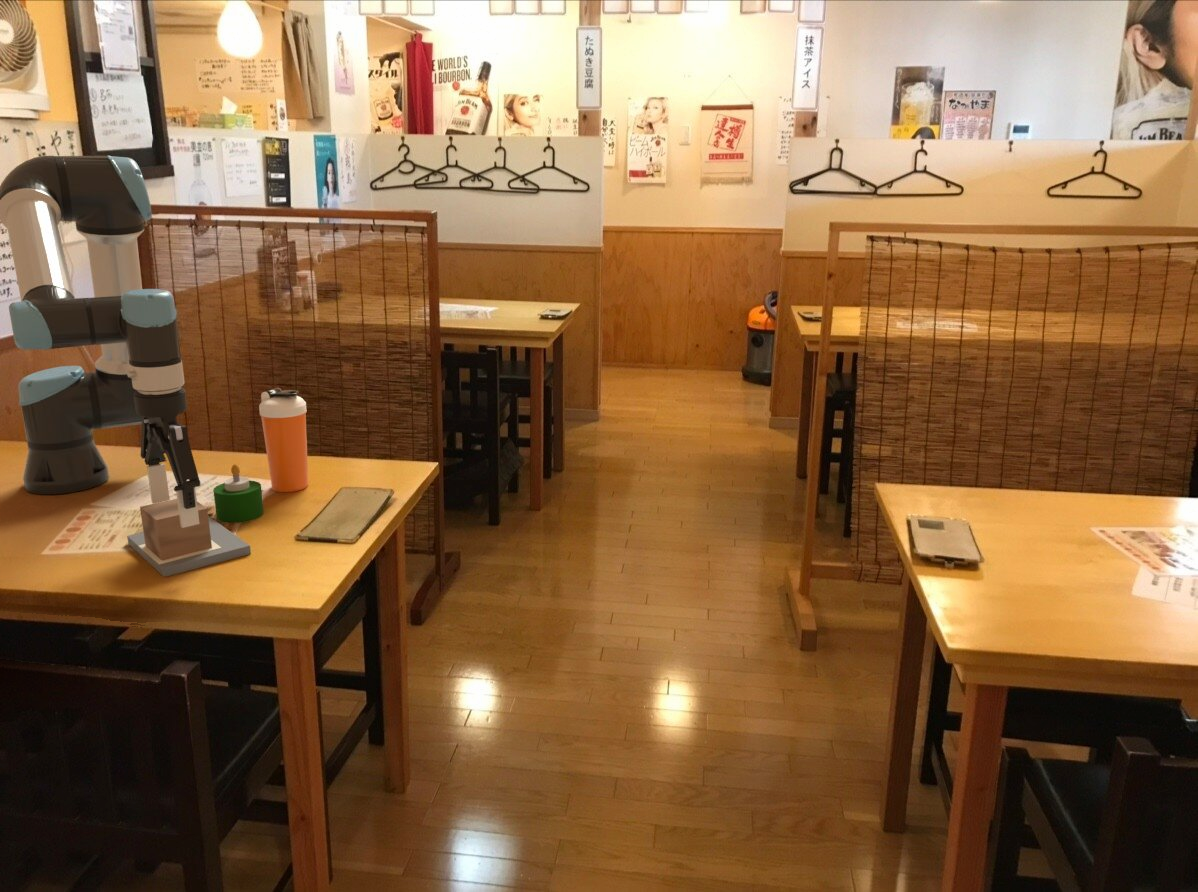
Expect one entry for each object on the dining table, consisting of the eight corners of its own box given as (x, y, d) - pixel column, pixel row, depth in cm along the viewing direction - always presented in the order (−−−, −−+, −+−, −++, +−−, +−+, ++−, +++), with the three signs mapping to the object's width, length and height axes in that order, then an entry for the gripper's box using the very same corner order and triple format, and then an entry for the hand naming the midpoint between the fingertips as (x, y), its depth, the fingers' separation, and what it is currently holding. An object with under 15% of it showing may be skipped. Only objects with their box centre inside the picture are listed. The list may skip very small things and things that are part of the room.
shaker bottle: (299, 495, 185) (290, 397, 179) (258, 492, 186) (248, 394, 181) (321, 481, 193) (313, 387, 187) (281, 478, 195) (272, 384, 189)
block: (145, 546, 156) (139, 506, 154) (194, 534, 161) (189, 495, 159) (162, 560, 150) (156, 520, 148) (212, 547, 155) (207, 508, 153)
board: (128, 543, 161) (126, 535, 160) (210, 524, 170) (209, 515, 169) (164, 577, 148) (163, 567, 148) (250, 553, 157) (249, 544, 157)
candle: (273, 513, 176) (268, 462, 173) (235, 526, 169) (229, 474, 166) (245, 504, 180) (239, 455, 177) (207, 517, 173) (201, 466, 170)
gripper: (109, 377, 154) (126, 496, 161) (161, 409, 137) (178, 542, 143) (156, 370, 159) (171, 487, 166) (213, 401, 142) (227, 530, 148)
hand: (175, 513), depth 154 cm, fingers open, 13 cm apart
